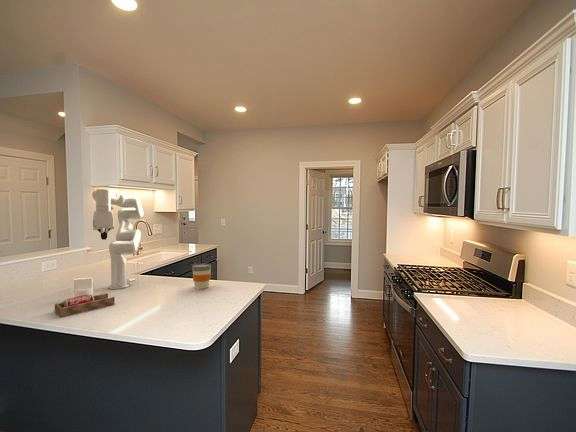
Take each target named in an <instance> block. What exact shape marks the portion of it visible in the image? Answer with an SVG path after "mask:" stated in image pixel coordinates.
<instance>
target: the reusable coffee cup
mask: <svg viewBox="0 0 576 432" xmlns="http://www.w3.org/2000/svg"><path fill="white" fill-rule="evenodd" d="M191 266H192V268H191V271H192V280H193V283H194V288H195V289H196V288H198V289H197V290H204V289H207V287H208V288H209V286H210V280H211V275H212V273H211V270H212V264H210V263H196V264H193V265H191ZM203 288H204V289H203Z"/></svg>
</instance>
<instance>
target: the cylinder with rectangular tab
mask: <svg viewBox="0 0 576 432" xmlns="http://www.w3.org/2000/svg"><path fill="white" fill-rule="evenodd" d="M93 279H94V278H93V276H92V277H81V278H79V277H78V278H74V279H73V295H74V297H77V296H82V295H86V294H91V295H93V296H94V290H93V289H94V286H93V285H94V282H93Z"/></svg>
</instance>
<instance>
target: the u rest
mask: <svg viewBox="0 0 576 432" xmlns="http://www.w3.org/2000/svg"><path fill="white" fill-rule="evenodd" d="M93 297H94V301H92V302H87V303H82V304H78V305H73V306H69V307H64V301H62V302H57V303H54V312H55V313H56V315H58V316H59V317H60V318H62V317H63V318H64V317H67V316H70V315H71V316H72V315H75V314H80V313H83V312H88V311H93V310H96V309H101V308H104V307H109V306H114V305H115V304H116V303H115V301H116V299H115V296H110V297H109V293H108V292H105V293H101V294H97V295H96V294H95V295H93Z"/></svg>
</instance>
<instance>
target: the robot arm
mask: <svg viewBox="0 0 576 432" xmlns="http://www.w3.org/2000/svg"><path fill="white" fill-rule="evenodd" d="M91 195H92V198H93V200H94V201H95V211H93V216H92V228H93V230H94V231H98V232H99V233H100V239H101V240H103V241H105V240H107V238H108V233H109V231H112V230H114V229H115V219H114V213H113V211H112V210H114V207H113V206H114V205H115V206H118V207H120V209H118V210H117V219H118V220H117V221H118V224H119V227H118V230H117V233H116V235H115V240H114V241H112V242H110V243H109V245H108V251H109V255H110V277H111V278H110V281H111V283H110V285H108V289H109V290H120V289H125V288H127V287H130V286H131V283H134V282H136V279H135V278H128V259H127V257H126V256H125V255H135V254H137V252H138V250H139V247H140V245H141V241H142V232H141V230H139V229H137V228H136V229H135V228H134V226H133V224H132V223H131V222H130V221H129V220H141V219H143V218H144V214H145V213H144V210H143V205H142V202H141V199H140V198H139V197H138V196H137V195H125V194H123V193H120V192H119V191H118V189H114V188H106V187H105V188H103V187H102V188H96V189H94V190H93V191H92V194H91ZM112 205H113V206H112Z"/></svg>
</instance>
